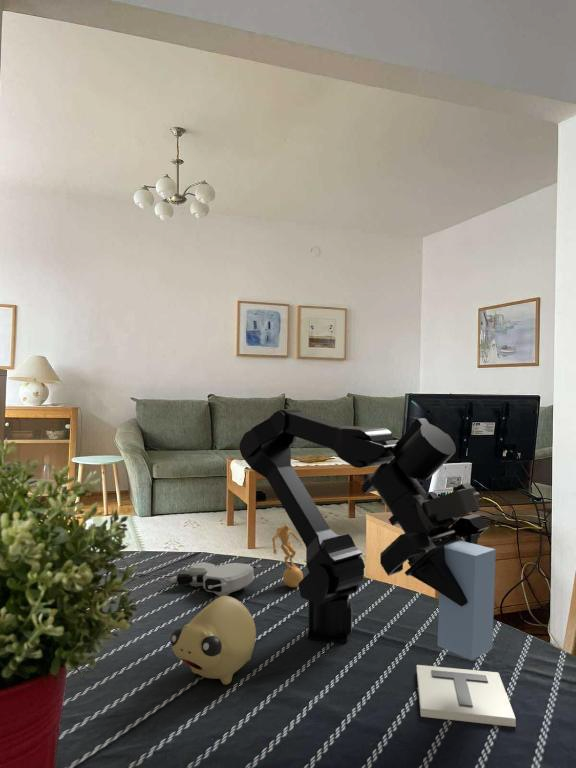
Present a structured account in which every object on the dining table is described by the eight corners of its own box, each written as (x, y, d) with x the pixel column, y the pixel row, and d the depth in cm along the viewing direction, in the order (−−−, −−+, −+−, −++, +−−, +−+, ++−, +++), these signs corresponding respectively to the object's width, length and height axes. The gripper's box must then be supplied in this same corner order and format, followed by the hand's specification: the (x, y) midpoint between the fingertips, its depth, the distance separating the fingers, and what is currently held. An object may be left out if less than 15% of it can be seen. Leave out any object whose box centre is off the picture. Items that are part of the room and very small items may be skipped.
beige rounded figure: (156, 687, 77) (157, 607, 76) (212, 651, 87) (213, 580, 87) (216, 709, 72) (216, 624, 72) (267, 668, 82) (268, 593, 82)
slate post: (437, 645, 76) (440, 546, 76) (458, 635, 79) (461, 540, 79) (471, 660, 72) (475, 555, 72) (492, 649, 75) (495, 549, 75)
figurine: (287, 595, 110) (288, 532, 110) (263, 587, 114) (264, 526, 114) (313, 583, 116) (314, 524, 116) (290, 576, 120) (291, 519, 120)
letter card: (420, 716, 71) (420, 706, 71) (416, 671, 81) (416, 663, 81) (515, 726, 69) (515, 716, 69) (498, 679, 80) (498, 671, 80)
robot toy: (165, 595, 112) (228, 605, 104) (164, 571, 112) (227, 580, 105) (205, 577, 122) (264, 584, 115) (203, 555, 123) (263, 561, 115)
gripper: (400, 471, 72) (480, 583, 64) (477, 458, 84) (552, 551, 76) (351, 522, 78) (419, 631, 70) (430, 503, 90) (495, 593, 82)
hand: (475, 599), depth 74 cm, fingers closed on slate post, 5 cm apart
